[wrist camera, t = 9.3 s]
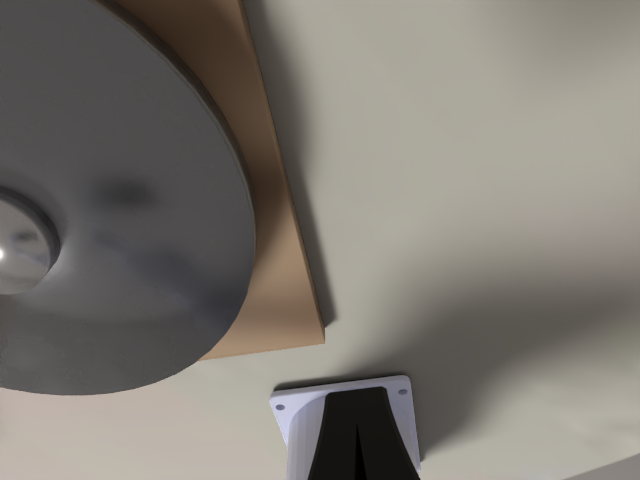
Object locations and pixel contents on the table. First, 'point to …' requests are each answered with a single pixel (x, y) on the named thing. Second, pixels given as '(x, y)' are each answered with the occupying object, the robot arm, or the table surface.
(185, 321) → the handwheel
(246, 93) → the base plate
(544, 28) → the table surface
